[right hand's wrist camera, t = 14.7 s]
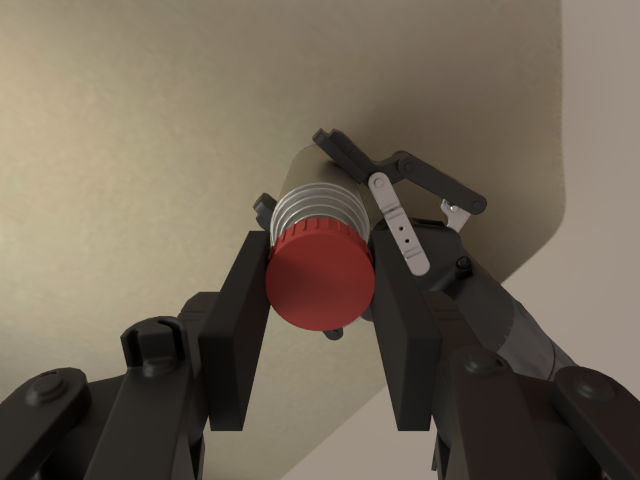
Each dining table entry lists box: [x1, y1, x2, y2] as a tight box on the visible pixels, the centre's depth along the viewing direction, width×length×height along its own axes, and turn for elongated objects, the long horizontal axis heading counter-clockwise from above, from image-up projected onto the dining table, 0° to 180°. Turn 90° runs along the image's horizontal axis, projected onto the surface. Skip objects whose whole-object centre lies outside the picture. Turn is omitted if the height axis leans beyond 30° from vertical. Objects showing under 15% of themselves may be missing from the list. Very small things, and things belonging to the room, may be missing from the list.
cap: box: [265, 217, 375, 331], centre depth 14 cm, size 4×4×2 cm
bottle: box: [270, 145, 370, 246], centre depth 21 cm, size 5×5×17 cm
